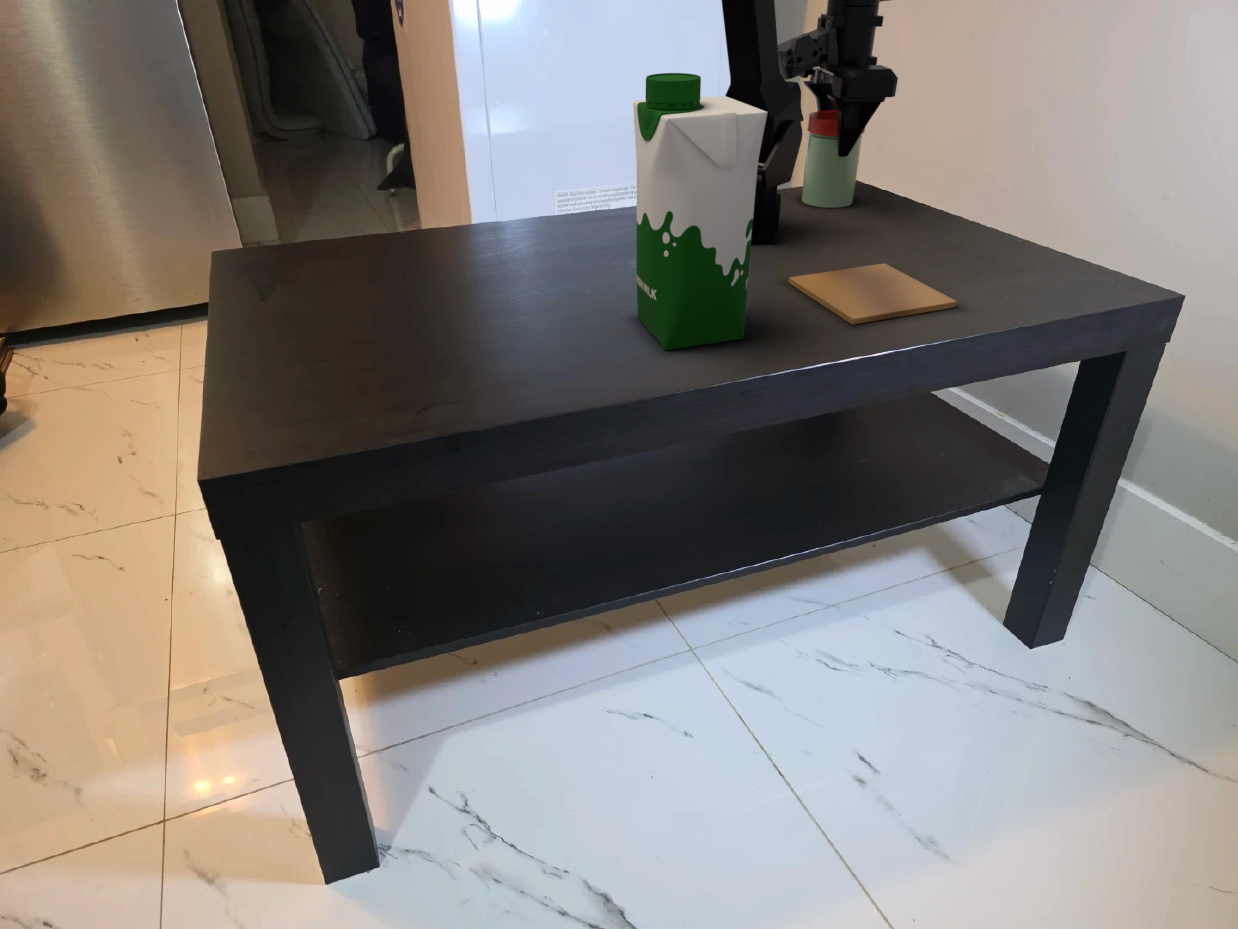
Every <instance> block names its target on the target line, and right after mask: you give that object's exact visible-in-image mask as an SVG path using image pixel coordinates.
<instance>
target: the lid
mask: <svg viewBox="0 0 1238 929" xmlns="http://www.w3.org/2000/svg"><path fill="white" fill-rule="evenodd" d="M807 120H808V121H807V131H808V132H809V133H810V132H811V133H814V134H818V135H824V136H838V111H837V110H827V111H818V110H817V111H813V112H810V113H809V114H808V119H807ZM865 132H866V127H865V128H864V130H863V131H862V133H861V135H863V134H865Z"/></svg>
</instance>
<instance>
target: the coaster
mask: <svg viewBox="0 0 1238 929" xmlns="http://www.w3.org/2000/svg"><path fill="white" fill-rule="evenodd" d="M788 284H789V285H790V286H793V287H794V288H795V289H797V290H798V291H800V292H802V293H803V294H805V295H806V296H808V297H809V298H810V299H812V300H814V301H815V302H817V303H818V304H820V305H821V306H823V307H825V308H826V309H827V310H829V311H830V312H832V313H834V314H835V315H836V316H838V317H839V318H841V319H842V320H844V321H845V322H847V323H849V324H850V325H852V326H854V325H859V324H865V323H870V322H878V321H884V320H888V319H894V318H900V317H901V318H902V317H907V316H912V315H918V314H924V313H930V312H936V311H942V310H948V309H953V308H956V307H957V304H958V301H957V300H955V299H953V298H951V297H949V295H948V296H947V295H946V294H944V293H942V292H940V291H938V290H936V289H935V288H933V287H931V286H929V285H927V284H925V283H923V282H921V281H920V280H917V279H915V278H914V277H912V276H909V275H907V274H906V273H904V272H902V271H901V270H898V269H897V268H894V267H893V266H891V265H889V264H887V263H885V262H884V263H883V262H882V263H878V264H870V265H864V266H856V267H851V268H844V269H836V270H829V271H822V272H817V273H810V274H809V273H808V274H802V275H795V276H789V277H788Z"/></svg>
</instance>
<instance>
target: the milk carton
mask: <svg viewBox="0 0 1238 929" xmlns="http://www.w3.org/2000/svg"><path fill="white" fill-rule="evenodd" d="M701 84H702V78H701V76H700V75H698V74H695V73H687V72H686V73H684V72H663V73H654V74H649V75H646V77H645V97H644V98H645V99H644V100H642V99H641V100H635V101H633V103H632V108H633V110H632V111H633V124H634V139H635V141H634V142H635V158H636V159H635V160H636V297H637V300H636V301H637V302H636V303H637V319H638V321H640V323H641V324H642V325H643V326H644V328H645V329H646V330H647V331H648V332H649V333H650V334H651V336H652V337H653V338H654V339H655V340H656V341H657V342H658V344H659V345H660V346H661V347H662V348H663V349H664V350H665V351H669V350H676V349H677V350H678V349H683V348H684V349H685V348H689V347H696V346H697V347H698V346H704V345H709V344H717V343H724V342H731V341H736V340H742V339H744V338H745V326H746V312H747V298H748V287H749V274H750V273H749V272H750V260H751V248H752V243H751V238H752V226H753V214H754V202H755V190H756V178H757V167H758V165H759V163H758V159H759V154H760V148H761V143H762V138H763V133H764V128H765V123H766V118H767V113H768V112H766V111H764V110H761V109H758V108H756V107H753V106H750V105H748V104H745V103H742V102H740V101H737V100H734V99H732V98H729V97H726V96H725V95H722V96H707V97H705V96H703V97H701V87H702V85H701Z"/></svg>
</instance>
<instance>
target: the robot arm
mask: <svg viewBox="0 0 1238 929" xmlns="http://www.w3.org/2000/svg"><path fill="white" fill-rule="evenodd" d="M889 1H891V0H827V5H826V12H825V13H821V14H820V16H819V17H818V18H817V23H816V24H817V25H816V28H815V29H814V30H811V31H809V32H804V33H802V34H800V35H797V36H795V37H793V38H790V39H789V40H786V41H783V42H780V43H778V33H777V32H778V31H777V18H776V4H775V3H776V2H775V0H721V1H720V2H721V9H722V16H723V17H722V18H723V26H724V27H723V28H724V35H725V36H724V37H725V43H726V53H727V62H728V71H729V81H730V83H729V86H728V88H727V91H726V92H725V95H724V96H726V97H729V98H732V99H734V100H737V101H740V102H742V103H745V104H748V105H750V106H753V107H756V108H758V109H761V110H764V111H766V112H768V113H767V118H766V123H765V128H764V133H763V138H762V143H761V148H760V154H759V159H758V167H757V178H756V190H755V202H754V214H753V226H752V238H751V244H764V243H766V244H767V243H776V242H778V236H777V235H776V234H775V233H777V232H778V231H779V226H780V216H781V215H780V214H781V205H782V204H781V203H782V194H780V192H778V186H781V185H782V186H783V185H784V184H787V183H789V182H791V180H792V178H793V173H794V171H795V166H796V163H797V160H798V159H797V158H798V155H799V151H800V148H801V144H802V140H803V127H802V126H803V125H802V122H804V119H805V118H804V115H803V112H802V89H801V87H800V84H799V82H797V81H789V80H791V79H794V78H797V77H800V78H802V79H808V78H809V80H804V81H803V84H804V86H805V87H806V88H807V89H808V90H809V91H810V92H811V93H812V95H813V96H814V97H815V103H816V109H817V111H827V110H837V111H838V155H839V156H840V157H846V156H848V155H849V153H850V152H851V150H852V148H853V147H854V145H855V143H856V141H857V140H858V138H859V136H860V135H862V134H861V133H862V131H863V130H864V128H865V129H866V126H867V125H868V124H869V122H870V120H871V119H872V117H873V116H874V114H875V113H876V112H877V110H878V109H879V107H880V105H882V103H884V102H885V101H886V98H894V97H896V92H897V86H898V80H899V77H898V76H897V74H896V73H895V72H894V70H893V69H892V68H889V67H887V66H884V65H881V64H878V59H879V58H878V57H879V56H878V57H877V56H875V55H873V51H874V44H875V37H876V30H877V28H878V27H883V24H884V16H883V15H880V14H879V10H880V9H879V8H880V3H882V2H889ZM809 76H810V77H809ZM761 164H763V165H761Z"/></svg>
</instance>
